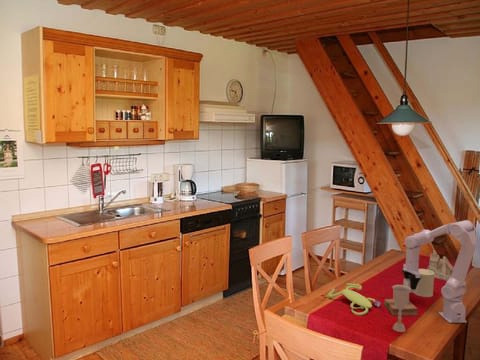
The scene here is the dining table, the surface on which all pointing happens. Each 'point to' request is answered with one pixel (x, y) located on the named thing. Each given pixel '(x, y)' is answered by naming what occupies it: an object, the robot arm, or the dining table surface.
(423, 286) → the can
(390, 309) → the plinth
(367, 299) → the figurine
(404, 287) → the chalice
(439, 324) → the dining table surface
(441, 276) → the ceramic cottage
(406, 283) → the cube
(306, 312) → the dining table surface
